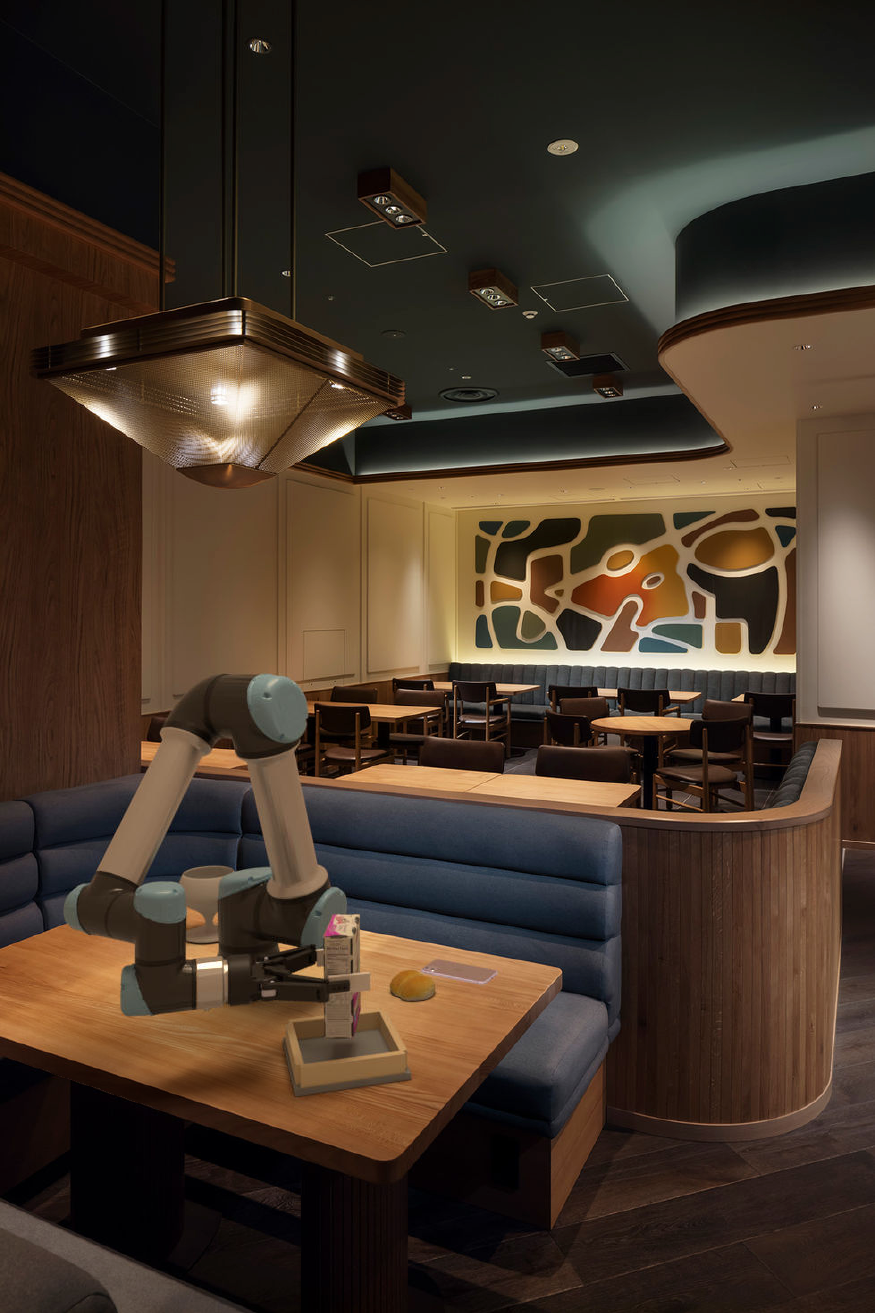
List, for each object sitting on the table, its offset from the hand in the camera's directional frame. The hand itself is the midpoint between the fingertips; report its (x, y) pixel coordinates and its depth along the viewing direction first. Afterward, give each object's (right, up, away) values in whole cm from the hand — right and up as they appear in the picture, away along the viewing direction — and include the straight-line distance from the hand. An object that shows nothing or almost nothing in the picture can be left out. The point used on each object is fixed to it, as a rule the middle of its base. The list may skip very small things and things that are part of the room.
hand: (362, 967), depth 139 cm
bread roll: (+7, -15, +27) cm, 32 cm away
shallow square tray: (-3, -15, 0) cm, 15 cm away
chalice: (-41, -15, +60) cm, 75 cm away
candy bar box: (-3, -9, -1) cm, 10 cm away
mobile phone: (+17, -15, +37) cm, 43 cm away
